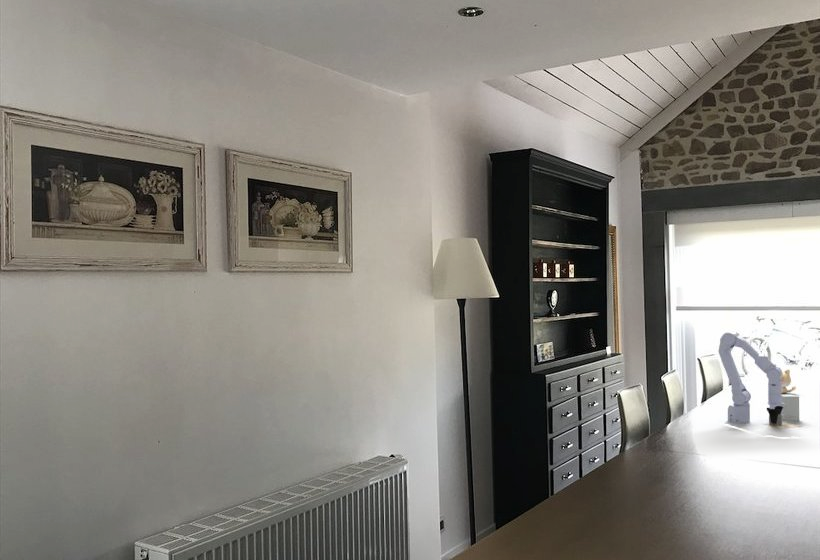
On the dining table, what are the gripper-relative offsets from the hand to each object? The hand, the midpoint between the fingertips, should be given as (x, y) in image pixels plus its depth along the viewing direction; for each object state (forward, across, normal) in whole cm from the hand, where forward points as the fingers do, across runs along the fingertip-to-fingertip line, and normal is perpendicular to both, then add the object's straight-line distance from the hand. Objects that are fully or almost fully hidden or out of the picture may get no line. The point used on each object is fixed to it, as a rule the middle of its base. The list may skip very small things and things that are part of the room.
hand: (775, 422), depth 357 cm
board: (+2, 0, -3) cm, 4 cm away
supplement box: (+2, +18, -2) cm, 19 cm away
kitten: (+2, +115, +18) cm, 116 cm away
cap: (+1, 0, 0) cm, 1 cm away
